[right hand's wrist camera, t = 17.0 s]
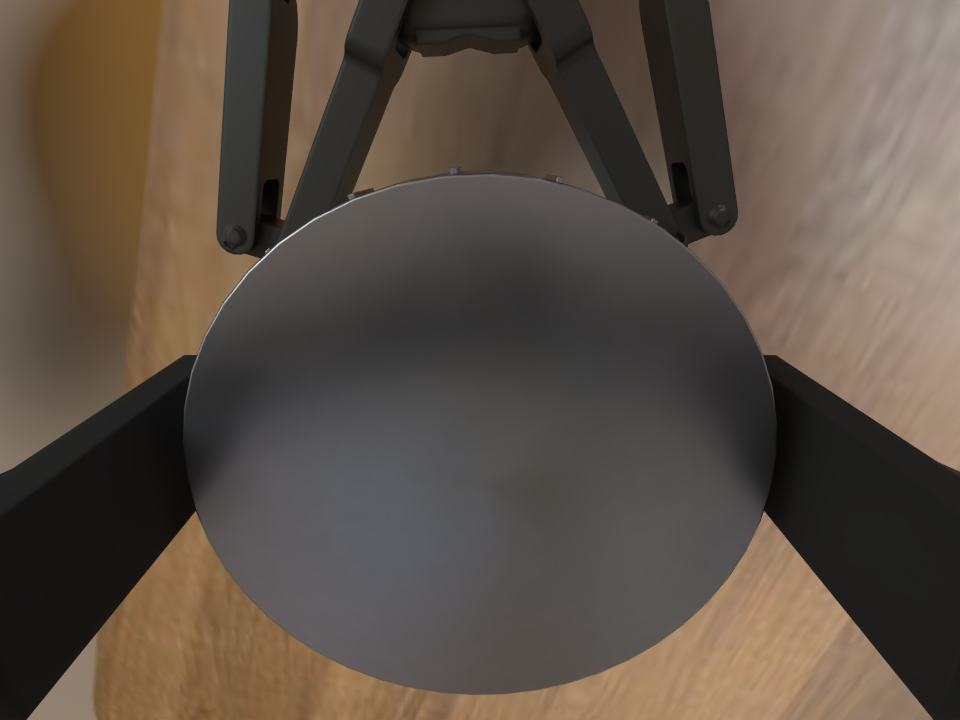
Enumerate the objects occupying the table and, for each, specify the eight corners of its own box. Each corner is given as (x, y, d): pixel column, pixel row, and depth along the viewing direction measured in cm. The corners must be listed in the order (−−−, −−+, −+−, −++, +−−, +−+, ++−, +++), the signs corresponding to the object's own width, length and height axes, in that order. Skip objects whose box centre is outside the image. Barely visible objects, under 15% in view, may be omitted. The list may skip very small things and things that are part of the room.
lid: (699, 105, 10) (762, 89, 8) (740, 568, 13) (791, 648, 11) (152, 243, 11) (68, 265, 8) (329, 643, 14) (302, 732, 12)
